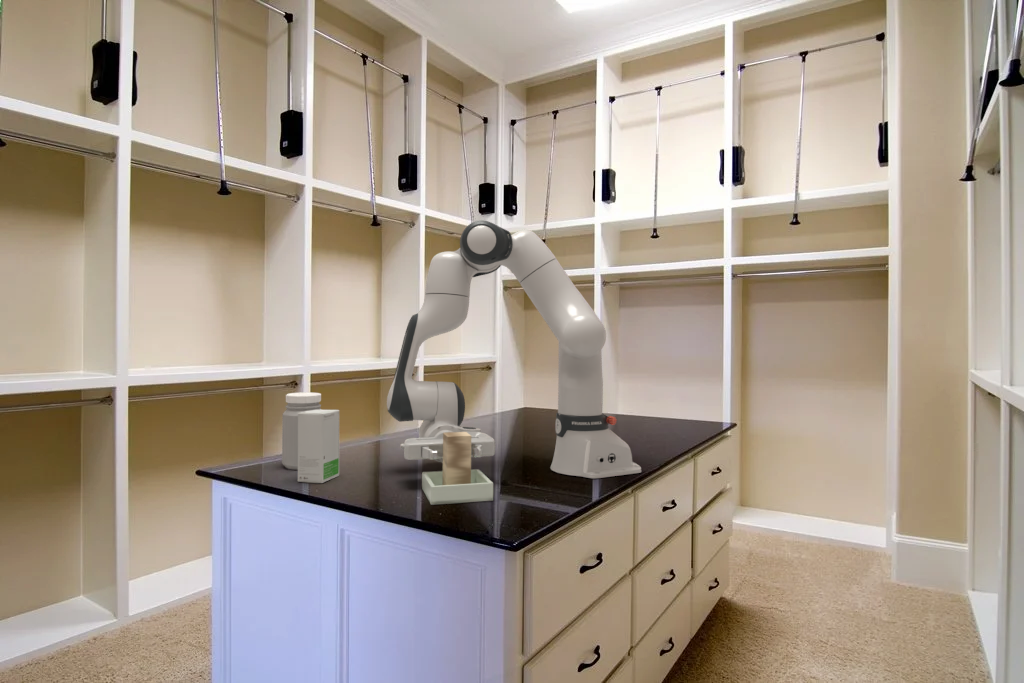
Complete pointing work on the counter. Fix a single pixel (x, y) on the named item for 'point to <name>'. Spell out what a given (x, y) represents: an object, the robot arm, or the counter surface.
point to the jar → (295, 424)
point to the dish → (456, 488)
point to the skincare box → (318, 445)
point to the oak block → (456, 458)
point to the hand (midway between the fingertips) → (456, 454)
